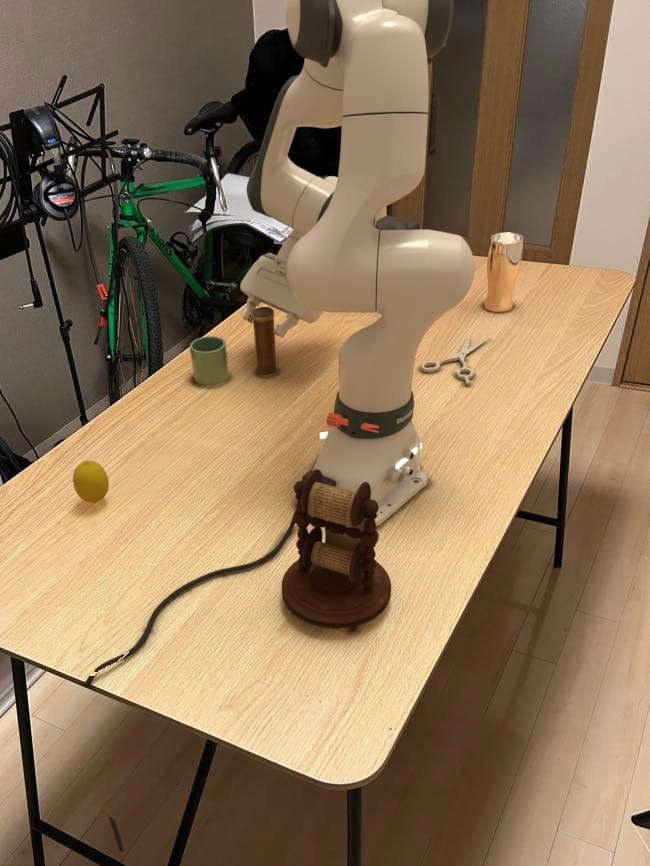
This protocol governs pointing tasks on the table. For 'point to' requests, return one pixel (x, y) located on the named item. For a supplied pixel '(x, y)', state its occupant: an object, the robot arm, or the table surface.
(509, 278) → the beer glass
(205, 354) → the tumbler
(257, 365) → the rod
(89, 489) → the lemon
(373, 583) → the wooden twine spool holder
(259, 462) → the table surface
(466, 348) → the scissors
